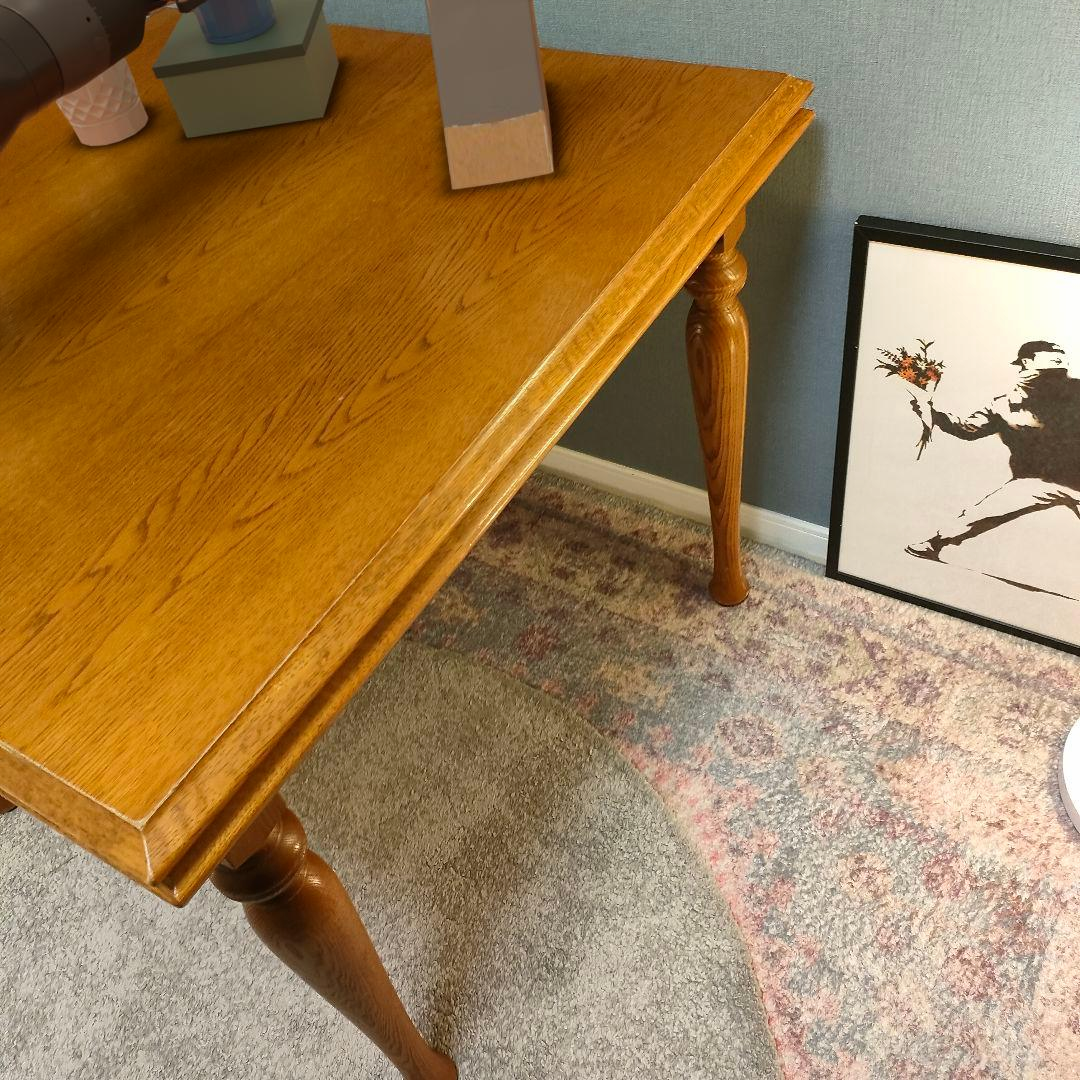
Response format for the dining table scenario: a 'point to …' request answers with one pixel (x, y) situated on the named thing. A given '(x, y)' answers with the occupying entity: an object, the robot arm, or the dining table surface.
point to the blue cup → (234, 19)
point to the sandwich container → (490, 90)
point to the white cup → (105, 107)
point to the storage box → (250, 72)
